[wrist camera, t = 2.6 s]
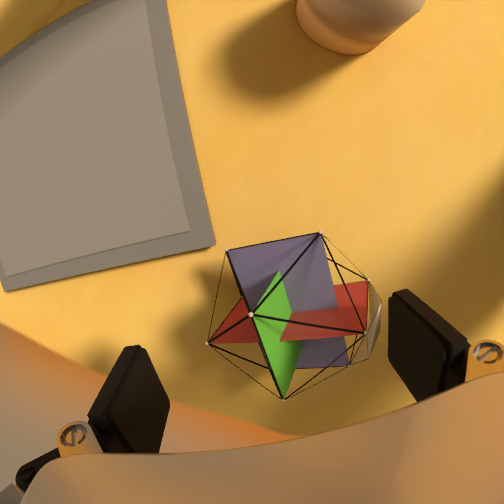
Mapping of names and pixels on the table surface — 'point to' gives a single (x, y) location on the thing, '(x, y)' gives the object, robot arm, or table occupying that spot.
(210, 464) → the robot arm
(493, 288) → the table surface
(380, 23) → the tan rounded cylinder
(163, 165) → the felt mat
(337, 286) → the geometric puzzle
